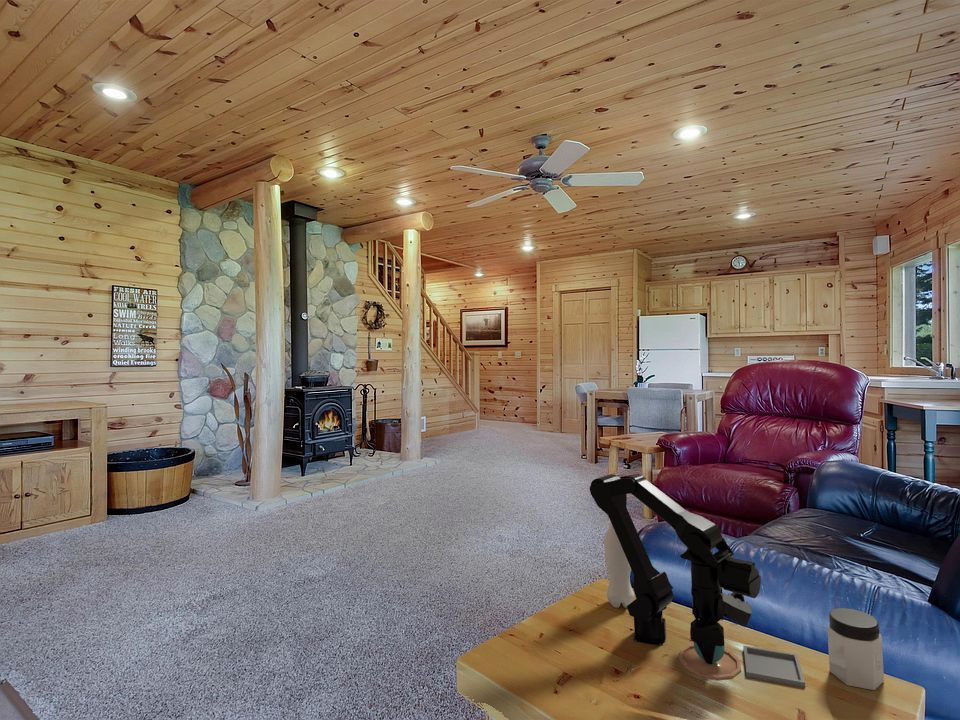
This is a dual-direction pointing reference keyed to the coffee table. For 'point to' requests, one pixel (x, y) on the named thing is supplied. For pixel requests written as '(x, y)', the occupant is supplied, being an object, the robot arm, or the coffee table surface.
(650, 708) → the coffee table surface
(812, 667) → the coffee table surface
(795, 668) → the tray
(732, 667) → the dish
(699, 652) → the ball
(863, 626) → the jar
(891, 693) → the coffee table surface
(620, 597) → the water bottle
